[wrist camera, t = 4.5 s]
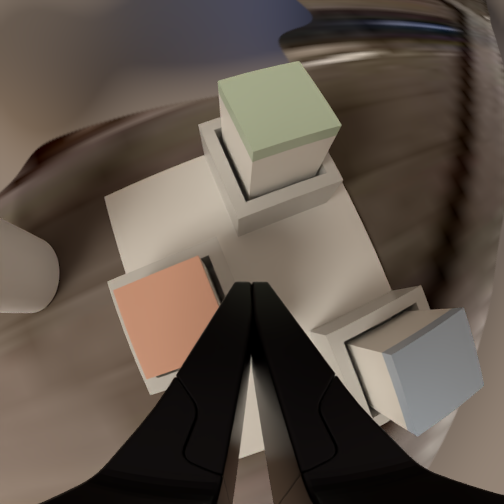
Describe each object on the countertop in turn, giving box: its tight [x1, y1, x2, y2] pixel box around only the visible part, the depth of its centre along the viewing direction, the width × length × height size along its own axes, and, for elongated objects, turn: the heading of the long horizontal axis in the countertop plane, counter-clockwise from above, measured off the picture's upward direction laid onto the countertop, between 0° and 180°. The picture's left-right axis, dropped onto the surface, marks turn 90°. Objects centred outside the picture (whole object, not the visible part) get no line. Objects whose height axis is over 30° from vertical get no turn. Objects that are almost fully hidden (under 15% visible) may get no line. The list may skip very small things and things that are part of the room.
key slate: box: [346, 307, 484, 436], centre depth 15 cm, size 5×5×6 cm
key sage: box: [218, 61, 342, 200], centre depth 17 cm, size 5×5×6 cm
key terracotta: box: [113, 256, 222, 379], centre depth 17 cm, size 5×5×6 cm
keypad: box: [104, 117, 430, 459], centre depth 20 cm, size 22×18×4 cm
